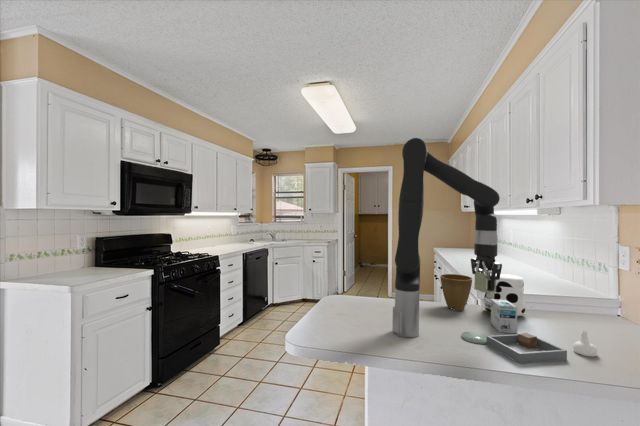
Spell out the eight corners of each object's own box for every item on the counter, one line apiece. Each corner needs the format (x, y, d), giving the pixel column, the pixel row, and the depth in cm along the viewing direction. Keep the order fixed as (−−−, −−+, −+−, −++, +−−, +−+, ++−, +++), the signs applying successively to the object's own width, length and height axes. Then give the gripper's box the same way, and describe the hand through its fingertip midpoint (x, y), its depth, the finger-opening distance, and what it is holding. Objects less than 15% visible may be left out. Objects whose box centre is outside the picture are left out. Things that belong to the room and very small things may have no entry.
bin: (519, 363, 96) (519, 353, 96) (486, 344, 111) (486, 335, 111) (566, 359, 99) (566, 350, 99) (528, 341, 114) (528, 333, 114)
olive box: (474, 289, 116) (474, 273, 116) (486, 288, 116) (486, 272, 116) (483, 292, 110) (484, 275, 111) (496, 292, 111) (496, 275, 111)
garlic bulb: (597, 355, 105) (597, 331, 105) (597, 359, 100) (597, 334, 101) (573, 349, 109) (573, 326, 110) (572, 353, 104) (572, 329, 105)
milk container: (528, 314, 148) (528, 276, 148) (522, 323, 135) (522, 281, 135) (488, 306, 159) (488, 271, 159) (479, 314, 146) (479, 276, 146)
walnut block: (528, 349, 107) (528, 337, 107) (518, 344, 111) (518, 333, 111) (536, 348, 109) (536, 336, 109) (525, 343, 112) (526, 332, 112)
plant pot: (437, 303, 163) (437, 273, 163) (467, 305, 160) (467, 274, 160) (442, 311, 149) (443, 278, 149) (475, 314, 146) (476, 280, 146)
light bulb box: (517, 334, 121) (518, 306, 122) (499, 332, 123) (499, 305, 123) (507, 324, 132) (507, 299, 132) (490, 323, 133) (490, 298, 133)
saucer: (473, 344, 110) (473, 342, 110) (456, 334, 120) (456, 332, 120) (497, 343, 112) (497, 341, 112) (479, 333, 121) (479, 331, 121)
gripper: (464, 241, 120) (463, 284, 120) (490, 244, 106) (489, 294, 106) (481, 241, 121) (480, 284, 121) (509, 244, 107) (509, 293, 107)
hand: (485, 288), depth 113 cm, fingers closed on olive box, 5 cm apart
